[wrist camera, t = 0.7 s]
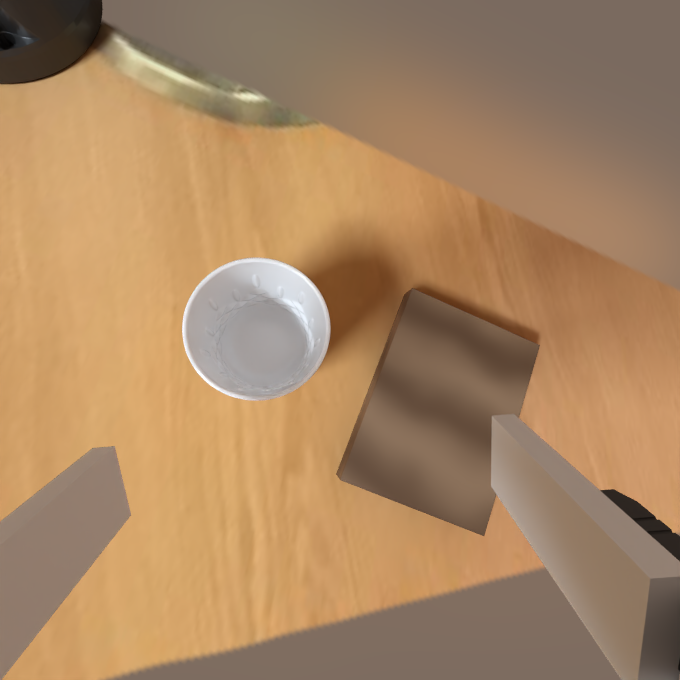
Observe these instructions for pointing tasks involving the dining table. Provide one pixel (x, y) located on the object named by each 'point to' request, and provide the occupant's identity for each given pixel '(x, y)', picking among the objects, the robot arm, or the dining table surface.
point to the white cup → (256, 329)
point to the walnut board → (438, 411)
